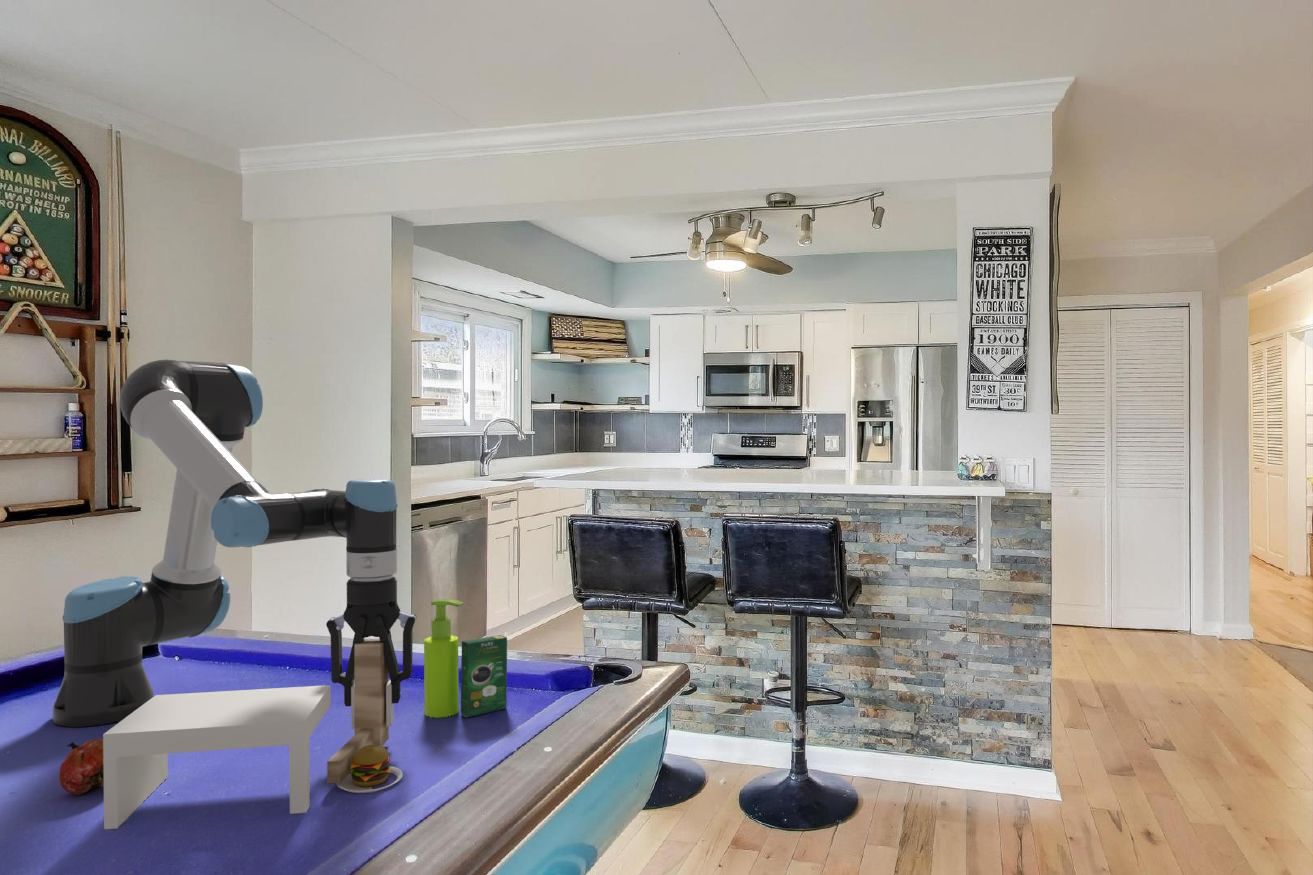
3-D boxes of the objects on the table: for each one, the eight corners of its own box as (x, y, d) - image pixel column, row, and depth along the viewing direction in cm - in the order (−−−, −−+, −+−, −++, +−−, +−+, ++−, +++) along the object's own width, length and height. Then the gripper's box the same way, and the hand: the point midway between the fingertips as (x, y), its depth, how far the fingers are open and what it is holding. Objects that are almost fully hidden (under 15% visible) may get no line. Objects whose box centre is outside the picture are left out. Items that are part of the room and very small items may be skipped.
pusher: (363, 738, 133) (363, 638, 133) (388, 738, 133) (388, 638, 133) (319, 783, 115) (319, 667, 116) (348, 782, 115) (348, 667, 116)
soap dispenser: (455, 719, 145) (454, 604, 144) (418, 716, 146) (417, 602, 146) (469, 708, 150) (468, 597, 150) (434, 705, 152) (433, 596, 152)
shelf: (156, 777, 120) (155, 695, 120) (331, 764, 125) (330, 684, 125) (104, 829, 105) (103, 734, 105) (306, 812, 109) (305, 721, 109)
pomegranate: (132, 797, 119) (99, 746, 123) (144, 765, 116) (109, 714, 120) (75, 824, 113) (41, 769, 116) (86, 790, 110) (51, 735, 113)
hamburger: (331, 811, 111) (331, 770, 111) (319, 778, 121) (319, 741, 121) (422, 792, 116) (422, 752, 116) (403, 762, 127) (403, 726, 127)
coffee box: (500, 704, 152) (500, 633, 152) (508, 708, 150) (508, 635, 150) (460, 714, 147) (459, 640, 147) (467, 718, 145) (466, 643, 145)
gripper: (307, 583, 126) (308, 736, 126) (427, 579, 129) (428, 729, 129) (318, 575, 134) (319, 720, 134) (431, 571, 137) (432, 713, 137)
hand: (372, 724), depth 132 cm, fingers closed on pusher, 4 cm apart
